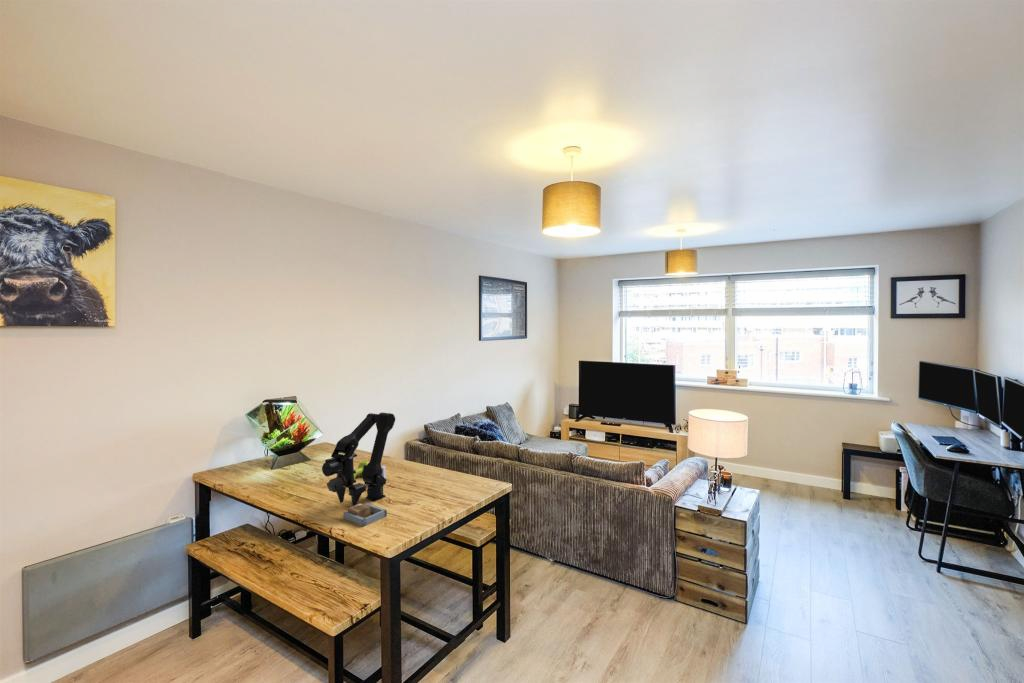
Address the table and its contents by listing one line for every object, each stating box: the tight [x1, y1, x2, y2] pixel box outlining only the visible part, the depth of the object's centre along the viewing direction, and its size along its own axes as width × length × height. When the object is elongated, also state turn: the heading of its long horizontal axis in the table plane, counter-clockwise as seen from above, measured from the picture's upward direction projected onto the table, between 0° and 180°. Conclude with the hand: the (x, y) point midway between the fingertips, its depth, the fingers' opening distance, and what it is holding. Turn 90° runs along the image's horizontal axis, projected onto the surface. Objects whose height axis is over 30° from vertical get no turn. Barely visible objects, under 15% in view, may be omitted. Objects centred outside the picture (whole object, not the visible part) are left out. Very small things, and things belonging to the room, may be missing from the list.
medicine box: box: [381, 465, 387, 480], centre depth 231 cm, size 8×4×9 cm, turn 92°
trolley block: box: [347, 502, 371, 518], centre depth 193 cm, size 6×7×4 cm
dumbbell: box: [354, 460, 370, 480], centre depth 239 cm, size 16×8×7 cm, turn 157°
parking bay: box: [343, 503, 388, 527], centre depth 192 cm, size 11×13×2 cm
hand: (347, 504), depth 199 cm, fingers open, 8 cm apart
